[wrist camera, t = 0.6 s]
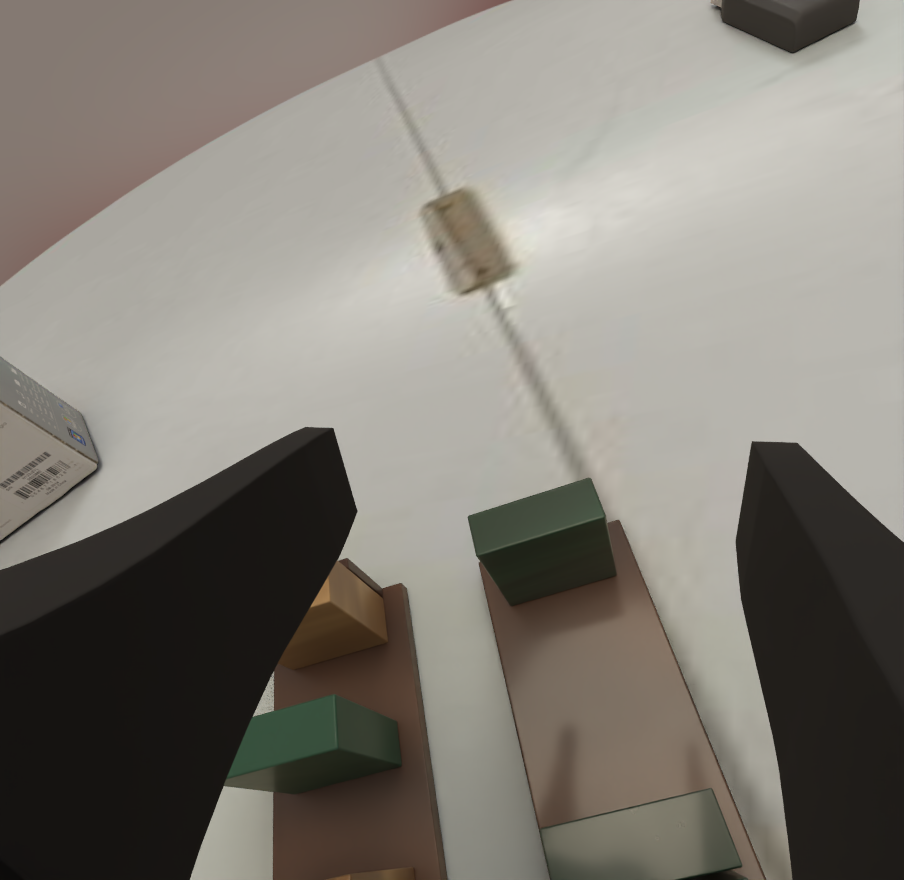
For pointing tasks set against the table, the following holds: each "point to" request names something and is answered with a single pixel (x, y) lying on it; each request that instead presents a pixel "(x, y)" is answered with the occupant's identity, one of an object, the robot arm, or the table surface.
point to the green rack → (602, 701)
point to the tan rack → (379, 689)
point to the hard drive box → (37, 448)
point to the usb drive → (789, 19)
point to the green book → (314, 747)
